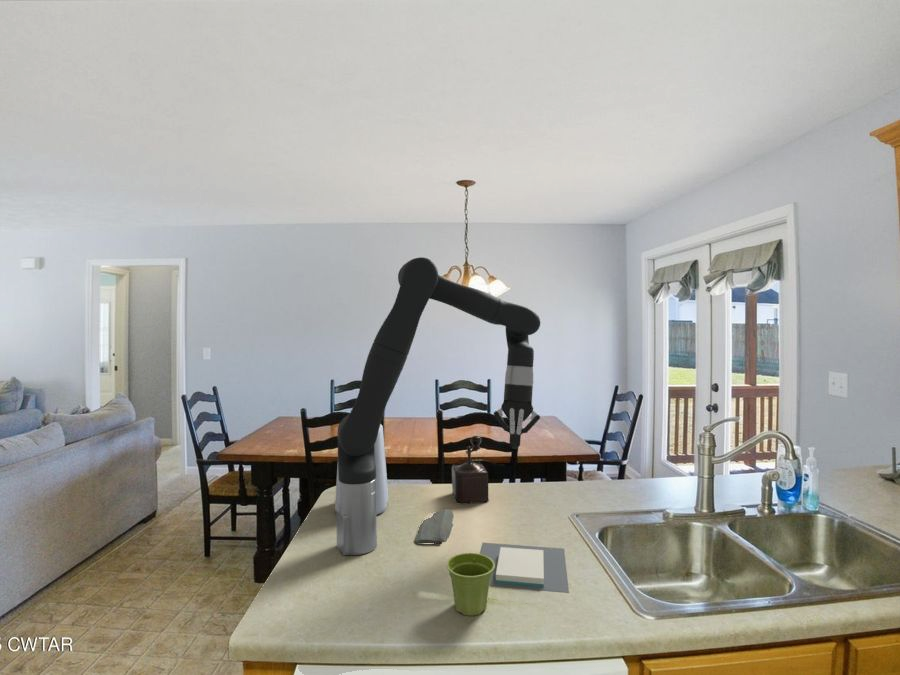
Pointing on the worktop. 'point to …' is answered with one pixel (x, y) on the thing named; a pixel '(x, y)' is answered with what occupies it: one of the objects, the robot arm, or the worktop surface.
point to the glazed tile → (520, 567)
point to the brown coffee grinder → (470, 478)
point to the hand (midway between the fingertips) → (514, 448)
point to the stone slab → (436, 528)
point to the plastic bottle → (380, 475)
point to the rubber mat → (552, 567)
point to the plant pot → (470, 581)
